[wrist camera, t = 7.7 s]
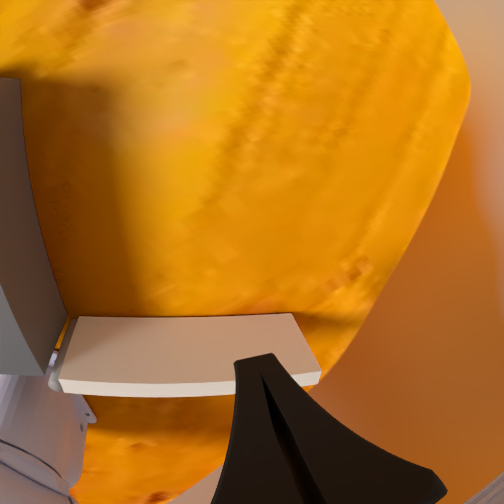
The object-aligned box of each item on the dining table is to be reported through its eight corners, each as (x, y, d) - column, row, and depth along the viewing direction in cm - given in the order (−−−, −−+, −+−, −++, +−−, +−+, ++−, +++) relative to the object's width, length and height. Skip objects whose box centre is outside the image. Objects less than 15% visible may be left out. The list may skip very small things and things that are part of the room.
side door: (72, 332, 20) (52, 394, 14) (67, 315, 19) (44, 377, 14) (287, 329, 23) (316, 387, 18) (291, 313, 23) (321, 370, 17)
